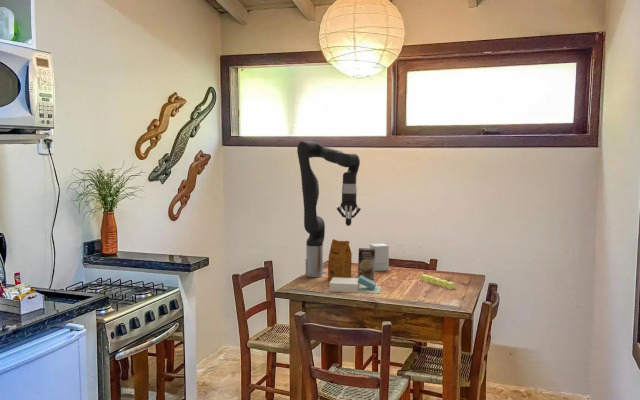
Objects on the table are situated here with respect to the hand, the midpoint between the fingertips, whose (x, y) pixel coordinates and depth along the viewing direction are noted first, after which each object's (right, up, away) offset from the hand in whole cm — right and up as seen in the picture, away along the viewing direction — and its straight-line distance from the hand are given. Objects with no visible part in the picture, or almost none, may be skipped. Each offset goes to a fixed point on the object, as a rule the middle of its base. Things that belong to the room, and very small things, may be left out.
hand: (348, 225), depth 271 cm
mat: (+10, -32, -8) cm, 34 cm away
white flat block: (-2, -32, -6) cm, 32 cm away
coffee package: (-4, -30, +12) cm, 33 cm away
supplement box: (+20, -28, +40) cm, 53 cm away
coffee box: (+11, -30, +18) cm, 37 cm away
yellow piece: (+48, -32, +6) cm, 58 cm away
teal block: (+8, -29, -8) cm, 32 cm away
